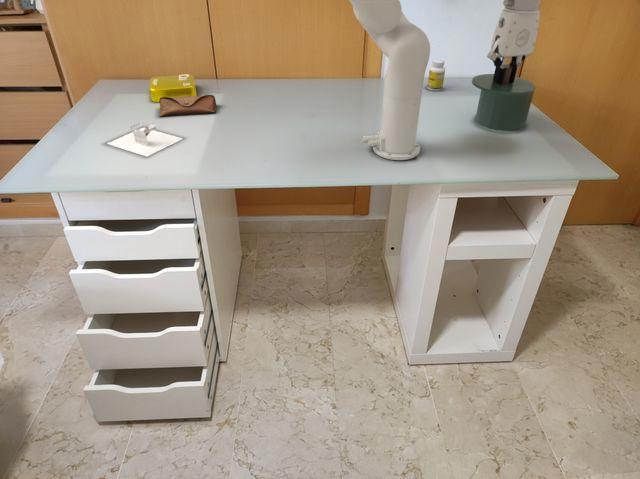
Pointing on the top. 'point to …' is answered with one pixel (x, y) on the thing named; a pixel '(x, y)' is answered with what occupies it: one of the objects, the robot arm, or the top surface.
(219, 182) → the top surface
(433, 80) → the supplement bottle
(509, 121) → the tin
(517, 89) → the lid
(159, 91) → the yellow plastic box
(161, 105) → the sunglasses case
